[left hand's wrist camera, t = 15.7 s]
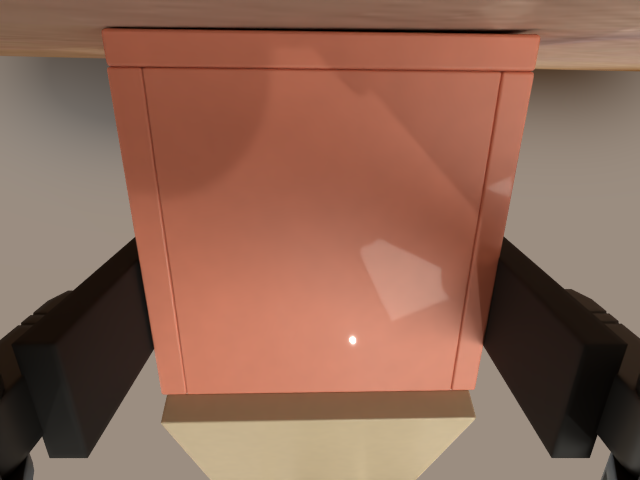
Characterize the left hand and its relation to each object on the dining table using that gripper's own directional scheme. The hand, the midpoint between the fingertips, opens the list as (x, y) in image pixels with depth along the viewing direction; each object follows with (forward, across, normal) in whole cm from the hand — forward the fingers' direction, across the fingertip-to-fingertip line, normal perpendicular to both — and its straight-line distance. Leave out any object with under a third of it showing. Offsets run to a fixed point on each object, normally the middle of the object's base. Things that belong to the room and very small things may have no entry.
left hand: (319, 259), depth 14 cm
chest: (+4, 0, -6) cm, 8 cm away
